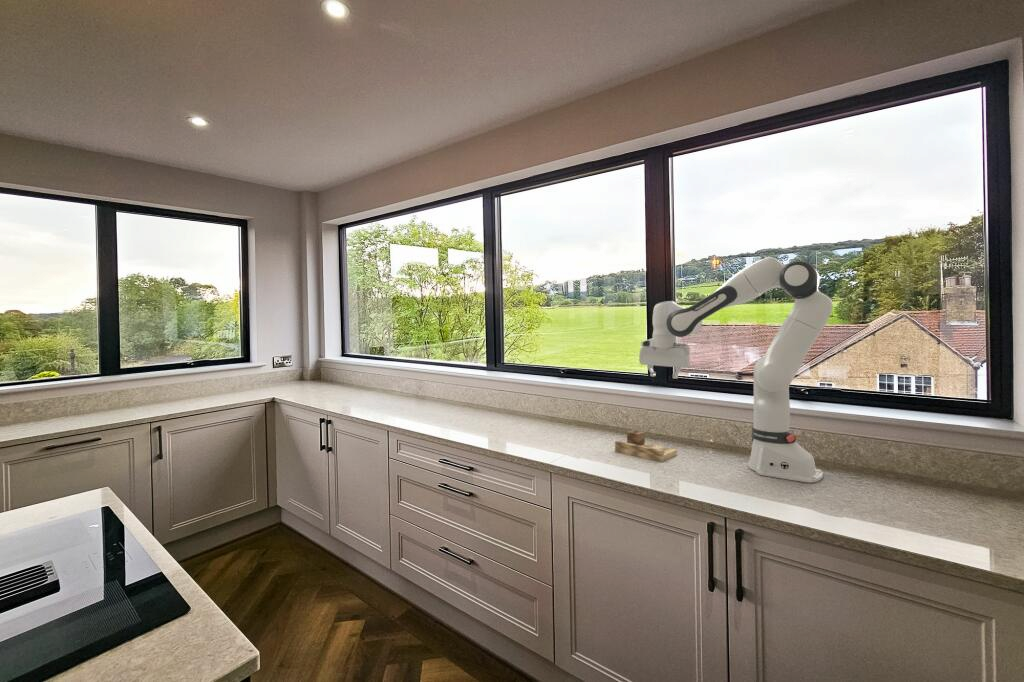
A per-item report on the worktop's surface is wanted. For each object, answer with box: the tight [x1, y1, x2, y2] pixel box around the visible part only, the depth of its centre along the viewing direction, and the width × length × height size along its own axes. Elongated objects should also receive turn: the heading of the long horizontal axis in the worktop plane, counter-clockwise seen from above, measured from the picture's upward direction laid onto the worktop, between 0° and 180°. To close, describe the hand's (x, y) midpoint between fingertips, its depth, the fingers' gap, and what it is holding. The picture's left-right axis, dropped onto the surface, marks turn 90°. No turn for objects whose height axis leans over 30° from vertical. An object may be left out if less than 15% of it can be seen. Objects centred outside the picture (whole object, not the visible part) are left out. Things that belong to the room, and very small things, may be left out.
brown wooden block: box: [626, 429, 646, 446], centre depth 192 cm, size 5×5×6 cm
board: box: [614, 440, 678, 463], centre depth 187 cm, size 20×12×4 cm, turn 45°
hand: (663, 377), depth 189 cm, fingers open, 8 cm apart
